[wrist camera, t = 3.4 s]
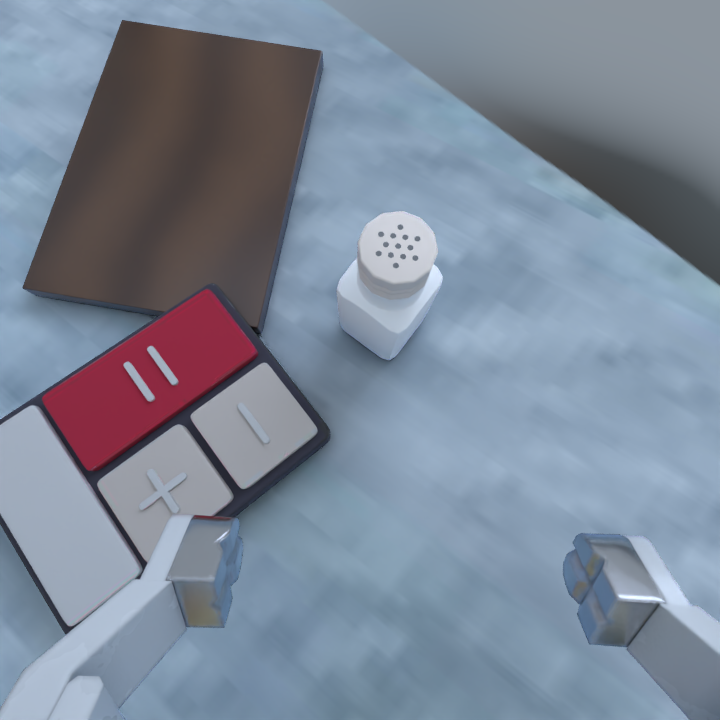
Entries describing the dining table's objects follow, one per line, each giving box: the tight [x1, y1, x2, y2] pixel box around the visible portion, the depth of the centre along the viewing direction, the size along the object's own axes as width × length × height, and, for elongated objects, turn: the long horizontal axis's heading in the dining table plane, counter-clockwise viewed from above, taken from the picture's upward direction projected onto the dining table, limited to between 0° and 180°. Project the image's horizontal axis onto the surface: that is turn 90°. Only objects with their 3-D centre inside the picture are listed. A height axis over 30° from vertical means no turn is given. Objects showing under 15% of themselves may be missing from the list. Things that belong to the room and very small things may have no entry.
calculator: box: [0, 283, 330, 634], centre depth 23 cm, size 11×4×15 cm
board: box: [23, 20, 323, 333], centre depth 28 cm, size 14×20×1 cm
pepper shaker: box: [337, 211, 443, 360], centre depth 22 cm, size 4×4×10 cm
